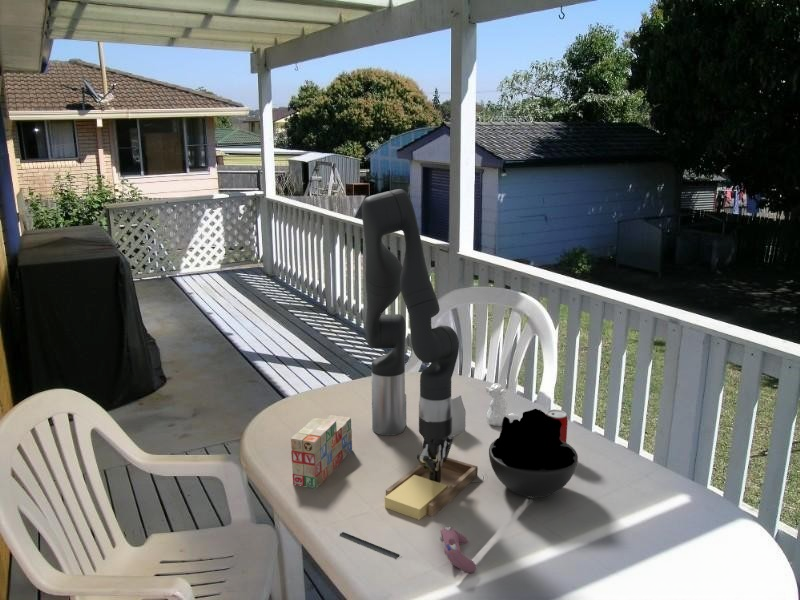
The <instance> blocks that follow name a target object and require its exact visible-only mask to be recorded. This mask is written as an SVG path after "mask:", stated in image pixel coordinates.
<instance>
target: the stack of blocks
mask: <svg viewBox="0 0 800 600" xmlns="http://www.w3.org/2000/svg"><path fill="white" fill-rule="evenodd" d="M352 431H353V429H352V418H351V417H348V416H342V415H341V416H339V415H334V414H329V415H328V416H327V417H326V418H325V419H323V418H320V417H319V418H317V417H314V418H312V419H311V420H310V421H309V422H308V423H307V424H306V425H304V427H302V428H301V429H300V430H299V431H298V432H296V433H295V434H294V435H293V436H292V437H291V438H290V445H291V452H290V453H291V465H292V467H291V468H292V485H293V484H296V485H295V486H298V485H301V486H300V487H303V486H307V487H306V488H309V487H313V488H312V489H315V488H316V489H318V488H319V486H320V485H321V484H322V483H323V482H324V481H326V479H327V478H328V477H329V476H330V475H331V474H332V473H333V471H334V470H335V469H336V468H337V467H338V466H339V464H341V462H342V461H344V459H345V458H346V457H347V456H348V455H349V454H350V453H351V452H352V451H353V440H352V439H353V434H352V433H353V432H352Z"/></svg>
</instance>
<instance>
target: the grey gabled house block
mask: <svg viewBox="0 0 800 600" xmlns="http://www.w3.org/2000/svg"><path fill="white" fill-rule="evenodd" d="M451 399H452V433H451V435H450V436H448V437H451V438H453V437H454V436H456V435H459V434H461V433H462V432H465V431H466V415H467V414H466V413H467V411H466V408H465V405H464V403H463V398H462V395H457V396H455V397H451Z"/></svg>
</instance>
